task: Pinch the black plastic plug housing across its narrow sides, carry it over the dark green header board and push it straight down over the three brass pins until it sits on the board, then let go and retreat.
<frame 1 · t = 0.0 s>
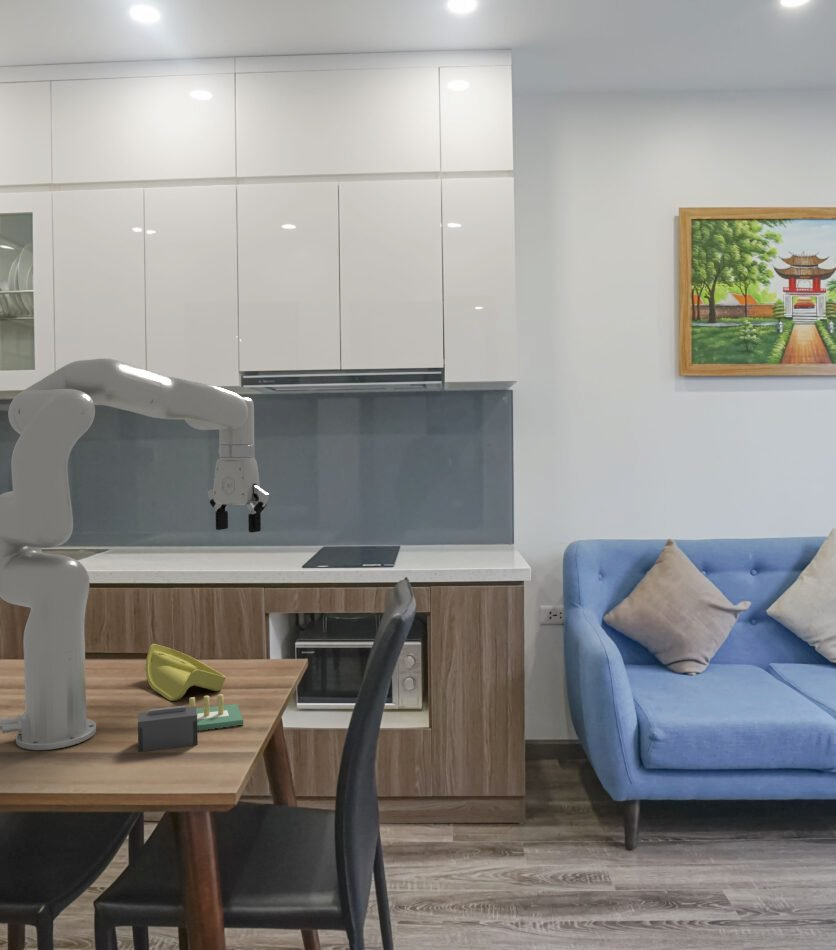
hand: (238, 530, 171), 31 cm above the table, tool pointing down, fingers open, 9 cm apart
header: (206, 720, 141), on the table
plastic component: (183, 687, 162), on the table
plug: (167, 743, 131), on the table
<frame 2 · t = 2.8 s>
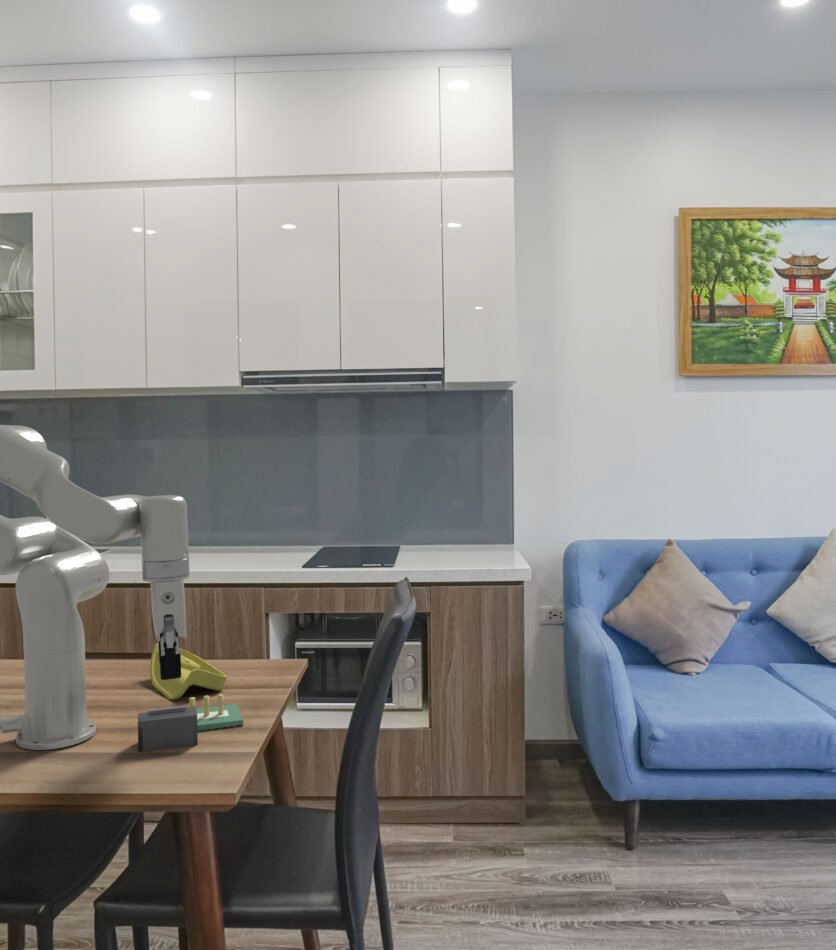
hand: (170, 670, 130), 12 cm above the table, tool pointing down, fingers open, 9 cm apart
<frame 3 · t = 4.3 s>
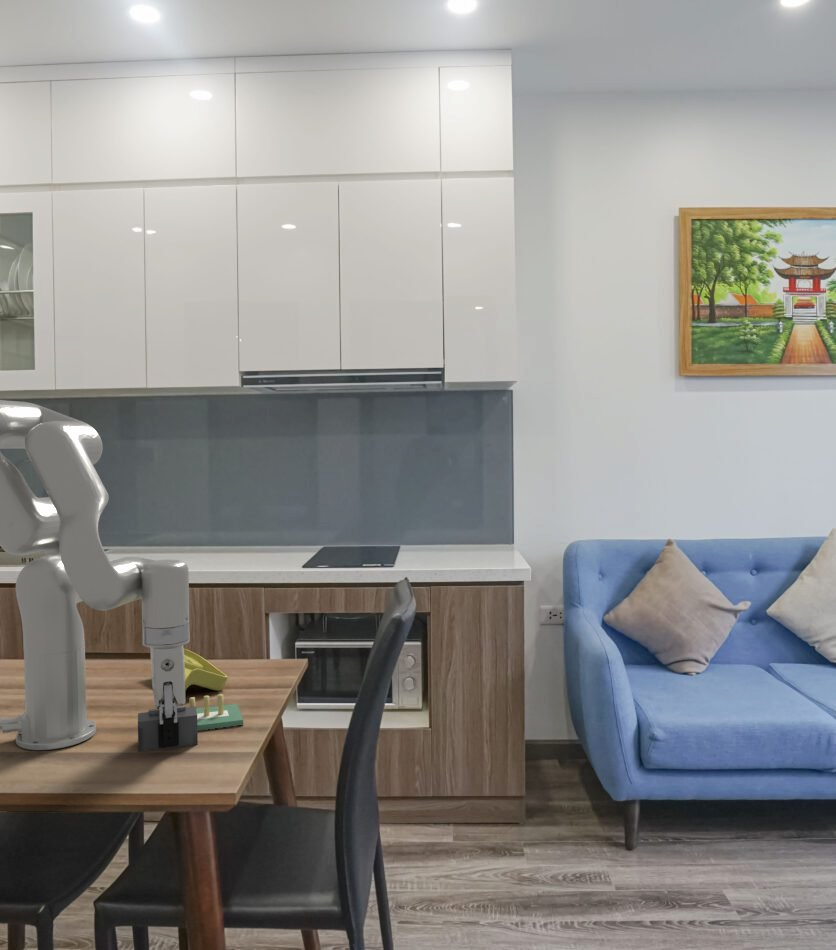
hand: (167, 736, 131), 1 cm above the table, tool pointing down, fingers open, 7 cm apart
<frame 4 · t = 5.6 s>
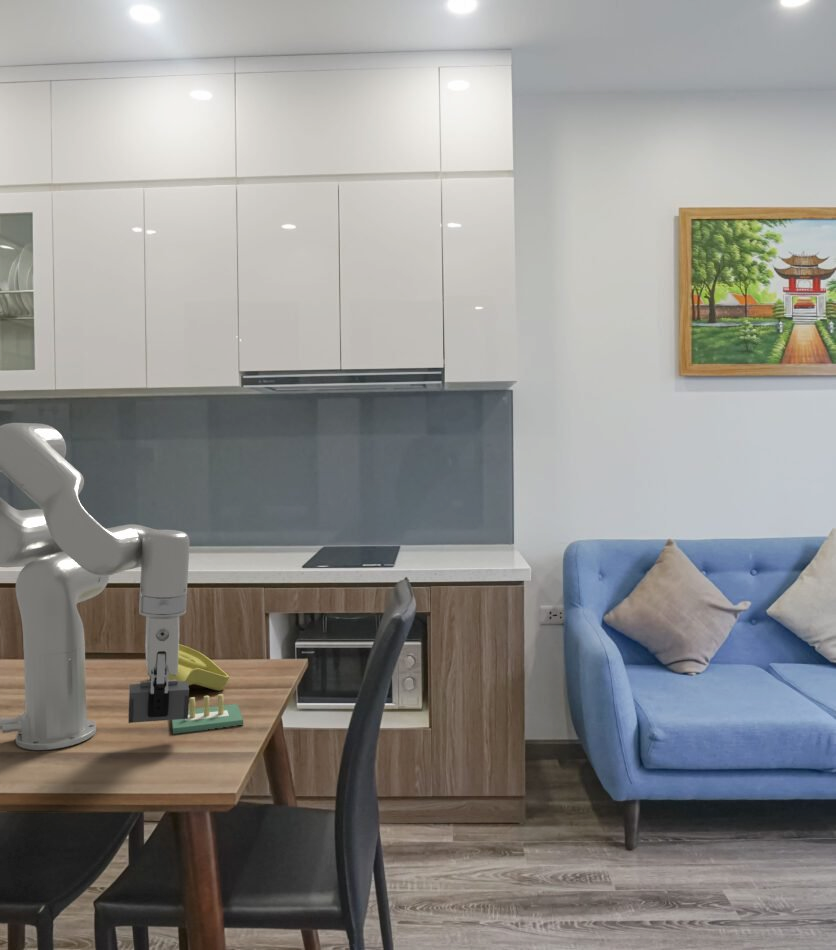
hand: (157, 709, 131), 6 cm above the table, tool pointing down, fingers closed on plug, 4 cm apart
plug: (158, 715, 131), point 5 cm above the table, touching gripper
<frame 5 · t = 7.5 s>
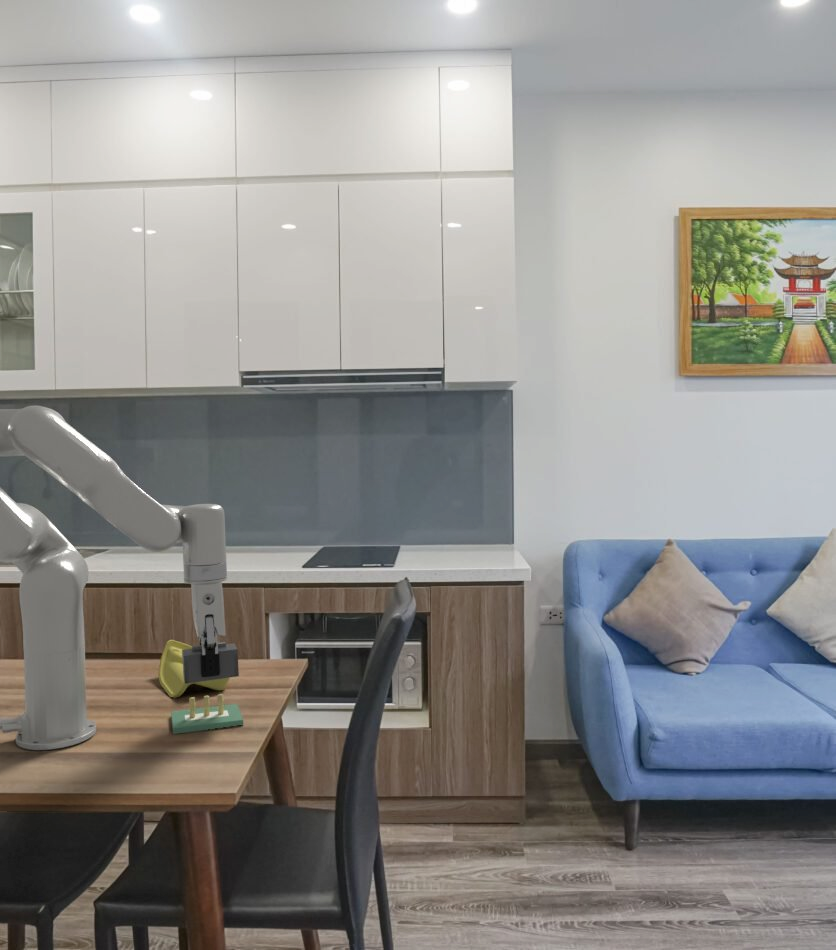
hand: (209, 670, 141), 9 cm above the table, tool pointing down, fingers closed on plug, 4 cm apart
plug: (211, 676, 141), point 8 cm above the table, touching gripper
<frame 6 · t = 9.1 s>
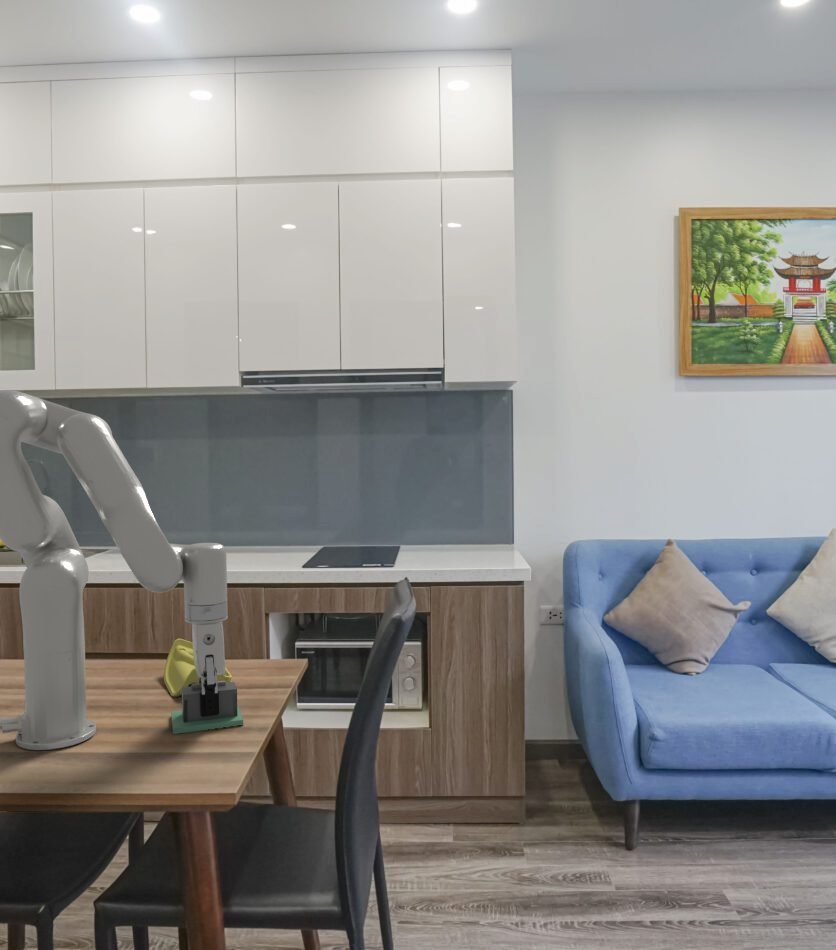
hand: (208, 709, 141), 2 cm above the table, tool pointing down, fingers closed on plug, 4 cm apart
plug: (209, 715, 141), point 1 cm above the table, touching gripper, header
when the fingers open (2 cm above the table, at t = 9.9 s): plug stays where it is, resting on header.
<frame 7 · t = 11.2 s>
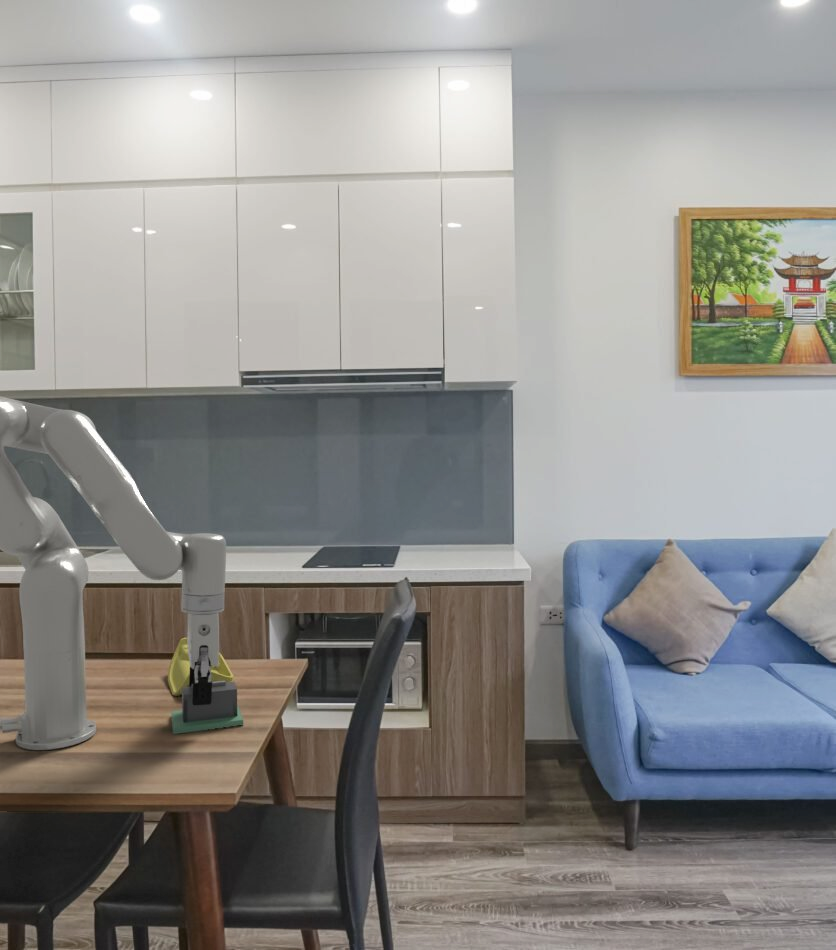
hand: (199, 695, 140), 5 cm above the table, tool pointing down, fingers open, 9 cm apart
plug: (209, 715, 141), point 1 cm above the table, touching header
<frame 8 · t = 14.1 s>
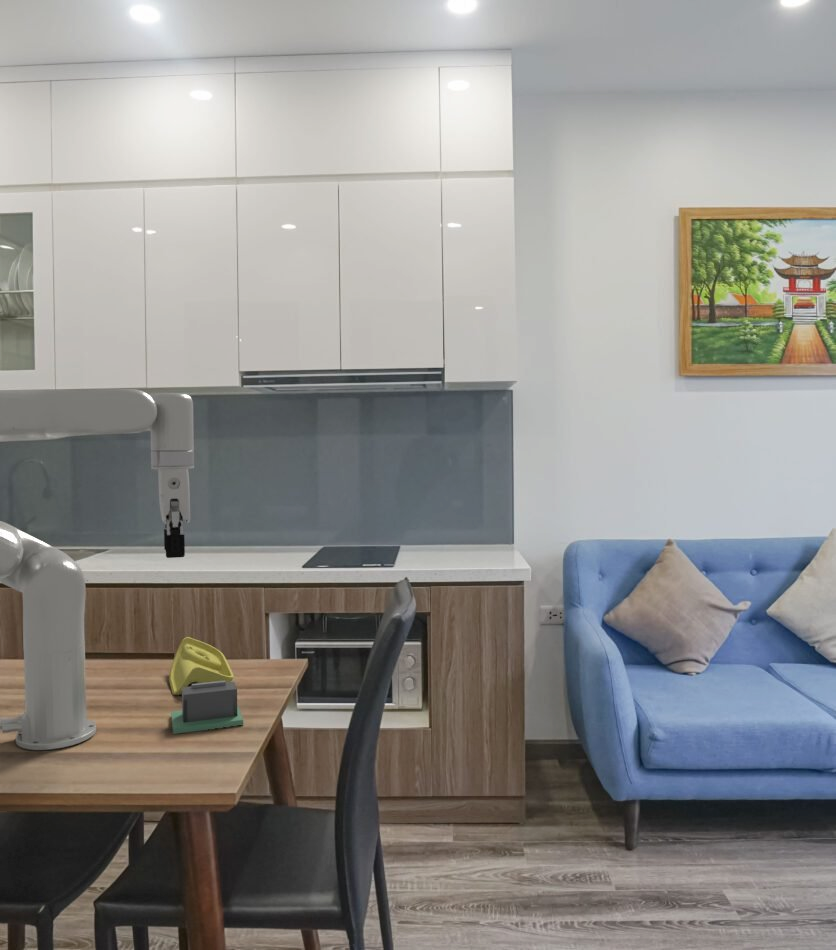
hand: (174, 553, 143), 30 cm above the table, tool pointing down, fingers open, 9 cm apart
at the end: plug 0.5 cm off-centre on the header, point 1.0 cm above the header's base; plug tilted 0°; the gripper is holding nothing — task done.
